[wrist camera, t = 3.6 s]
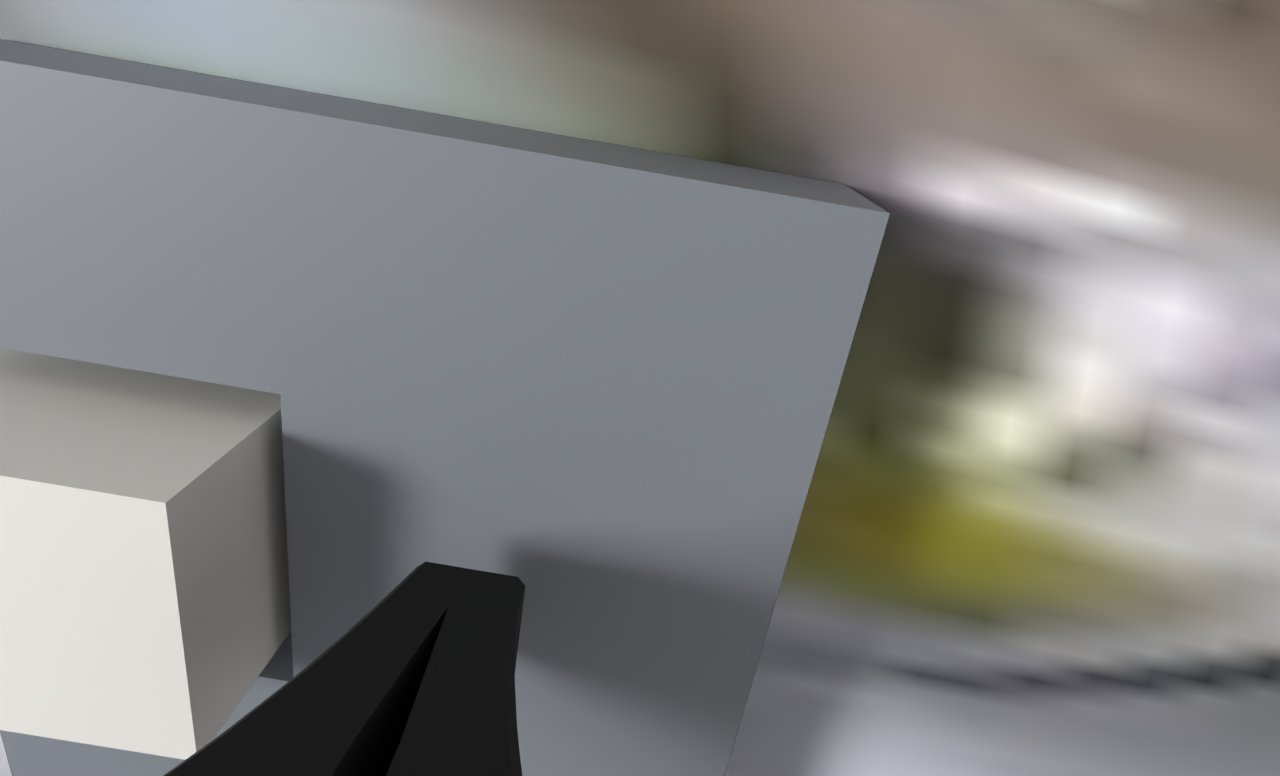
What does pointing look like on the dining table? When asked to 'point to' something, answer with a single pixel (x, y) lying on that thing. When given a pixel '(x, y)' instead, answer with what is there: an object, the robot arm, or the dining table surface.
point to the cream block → (136, 552)
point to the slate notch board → (459, 369)
